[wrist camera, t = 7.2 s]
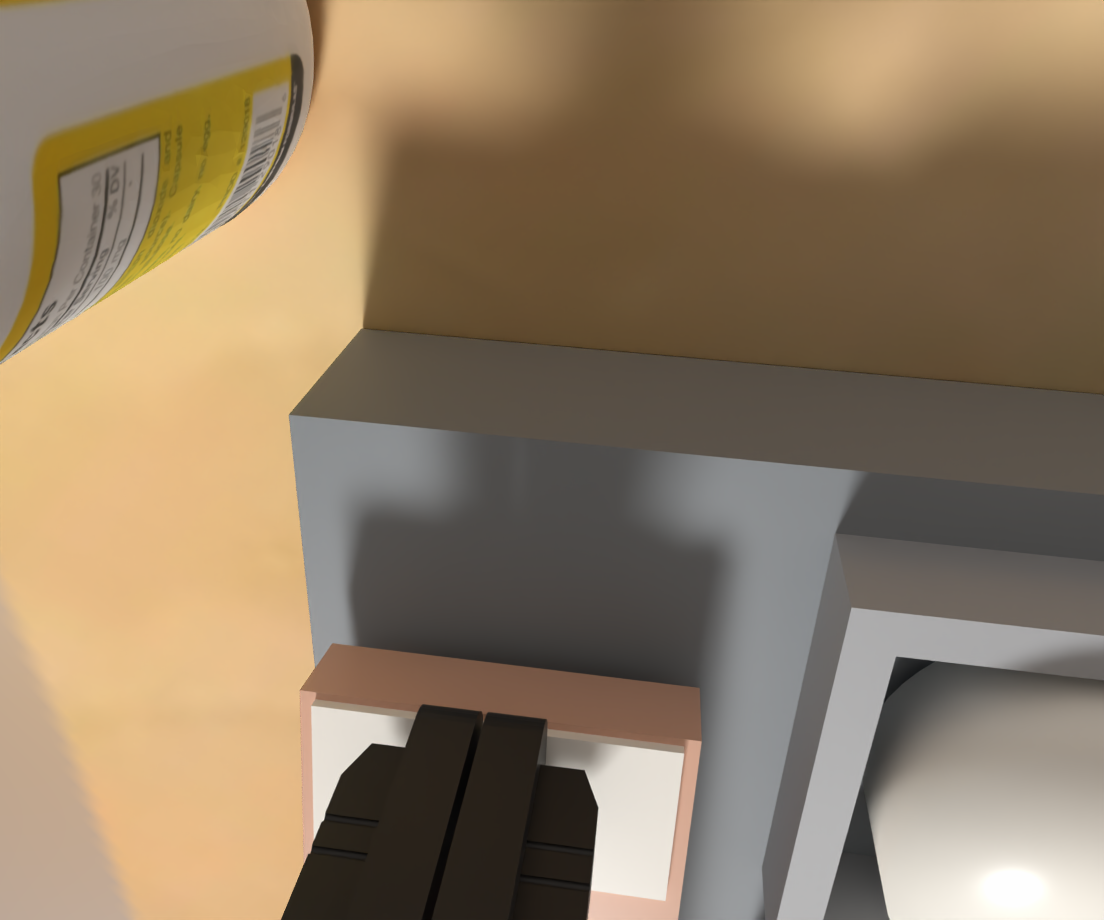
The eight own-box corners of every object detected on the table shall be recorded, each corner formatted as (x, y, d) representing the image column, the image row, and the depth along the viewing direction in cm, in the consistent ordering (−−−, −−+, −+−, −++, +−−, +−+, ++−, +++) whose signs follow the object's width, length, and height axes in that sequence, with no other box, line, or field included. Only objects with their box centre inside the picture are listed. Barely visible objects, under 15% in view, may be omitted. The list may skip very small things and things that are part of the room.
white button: (1273, 654, 12) (1374, 783, 10) (1148, 894, 14) (1212, 1034, 12) (898, 613, 12) (931, 729, 10) (833, 851, 14) (852, 981, 12)
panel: (1342, 415, 13) (1607, 616, 9) (1022, 1068, 21) (1095, 1326, 17) (361, 328, 15) (239, 473, 11) (400, 972, 23) (336, 1191, 19)
